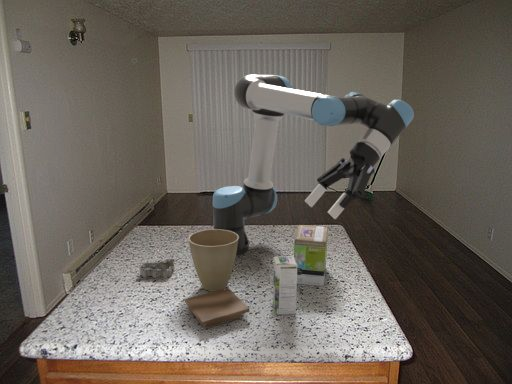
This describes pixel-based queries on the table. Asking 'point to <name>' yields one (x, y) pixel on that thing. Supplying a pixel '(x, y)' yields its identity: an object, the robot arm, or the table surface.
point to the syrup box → (284, 285)
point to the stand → (216, 307)
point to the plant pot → (213, 256)
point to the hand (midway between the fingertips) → (318, 209)
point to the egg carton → (157, 268)
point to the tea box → (311, 254)
